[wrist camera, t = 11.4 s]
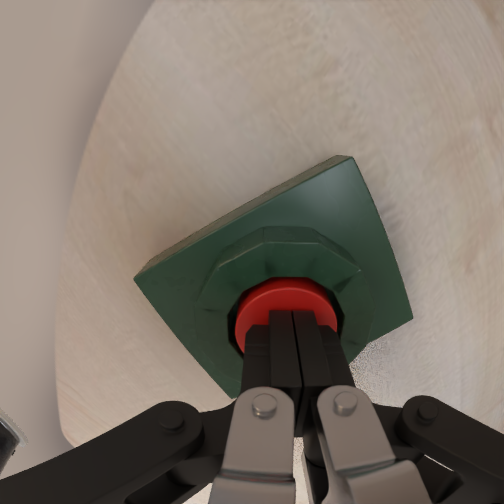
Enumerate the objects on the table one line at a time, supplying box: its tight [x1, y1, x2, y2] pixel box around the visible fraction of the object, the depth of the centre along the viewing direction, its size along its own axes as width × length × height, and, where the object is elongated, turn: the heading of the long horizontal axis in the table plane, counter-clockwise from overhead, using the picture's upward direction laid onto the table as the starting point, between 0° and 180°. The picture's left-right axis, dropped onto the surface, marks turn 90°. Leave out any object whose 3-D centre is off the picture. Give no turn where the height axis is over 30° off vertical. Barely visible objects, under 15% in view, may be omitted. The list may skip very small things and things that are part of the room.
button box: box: [133, 155, 413, 399], centre depth 12 cm, size 10×8×4 cm
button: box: [235, 277, 337, 353], centre depth 11 cm, size 4×4×2 cm
